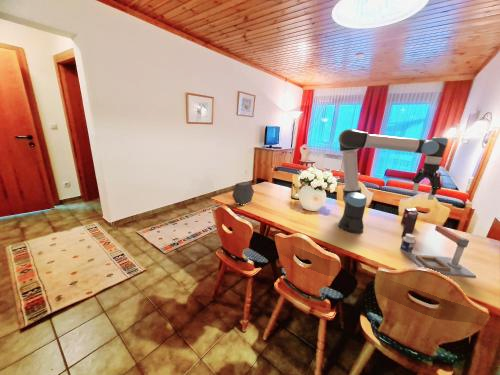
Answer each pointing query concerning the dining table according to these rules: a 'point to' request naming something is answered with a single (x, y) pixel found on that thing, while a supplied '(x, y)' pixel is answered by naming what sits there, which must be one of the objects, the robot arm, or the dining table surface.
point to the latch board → (443, 263)
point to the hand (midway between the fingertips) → (421, 196)
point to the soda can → (406, 214)
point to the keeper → (452, 236)
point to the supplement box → (410, 223)
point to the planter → (243, 193)
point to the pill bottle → (407, 243)
